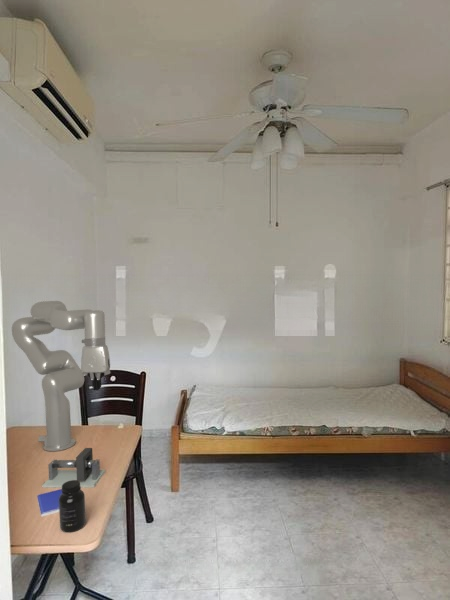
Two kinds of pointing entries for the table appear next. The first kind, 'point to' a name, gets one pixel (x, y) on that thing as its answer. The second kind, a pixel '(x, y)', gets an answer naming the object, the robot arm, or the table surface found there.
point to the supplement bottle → (72, 507)
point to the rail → (72, 464)
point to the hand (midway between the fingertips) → (97, 389)
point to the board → (71, 475)
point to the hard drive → (49, 502)
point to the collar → (83, 464)
